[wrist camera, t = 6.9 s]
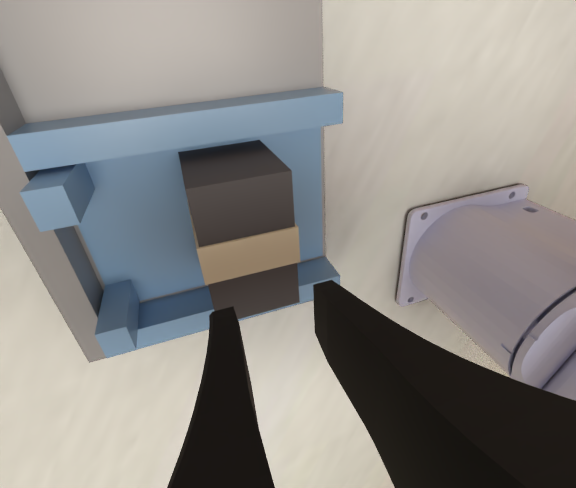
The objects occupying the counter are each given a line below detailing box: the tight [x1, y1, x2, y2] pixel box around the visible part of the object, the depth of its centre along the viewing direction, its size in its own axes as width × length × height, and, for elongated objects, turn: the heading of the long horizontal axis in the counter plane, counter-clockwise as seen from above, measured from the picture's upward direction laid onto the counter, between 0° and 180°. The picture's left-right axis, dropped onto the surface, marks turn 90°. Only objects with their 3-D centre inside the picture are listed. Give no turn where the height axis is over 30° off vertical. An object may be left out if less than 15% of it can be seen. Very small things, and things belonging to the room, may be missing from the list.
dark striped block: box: [178, 140, 300, 319], centre depth 15 cm, size 4×6×5 cm, turn 4°
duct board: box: [0, 0, 343, 363], centre depth 13 cm, size 13×20×4 cm, turn 4°
